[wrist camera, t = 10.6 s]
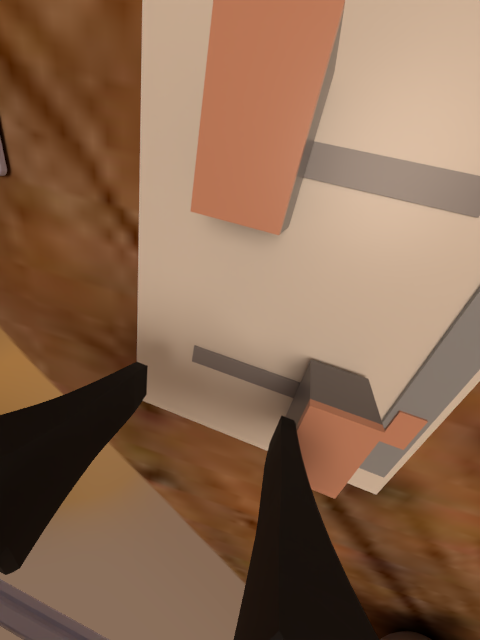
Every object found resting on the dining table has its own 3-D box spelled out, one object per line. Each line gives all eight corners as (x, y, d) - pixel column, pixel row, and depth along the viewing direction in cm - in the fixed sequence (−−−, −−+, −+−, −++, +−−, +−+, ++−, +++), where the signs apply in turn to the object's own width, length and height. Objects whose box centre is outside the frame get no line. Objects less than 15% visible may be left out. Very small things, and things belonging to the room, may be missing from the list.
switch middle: (223, 209, 11) (190, 211, 8) (249, 57, 9) (215, -21, 6) (288, 226, 10) (279, 235, 8) (334, 71, 8) (346, -5, 5)
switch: (283, 421, 15) (275, 474, 12) (310, 359, 13) (309, 405, 10) (330, 439, 15) (334, 498, 12) (368, 378, 12) (385, 433, 10)
